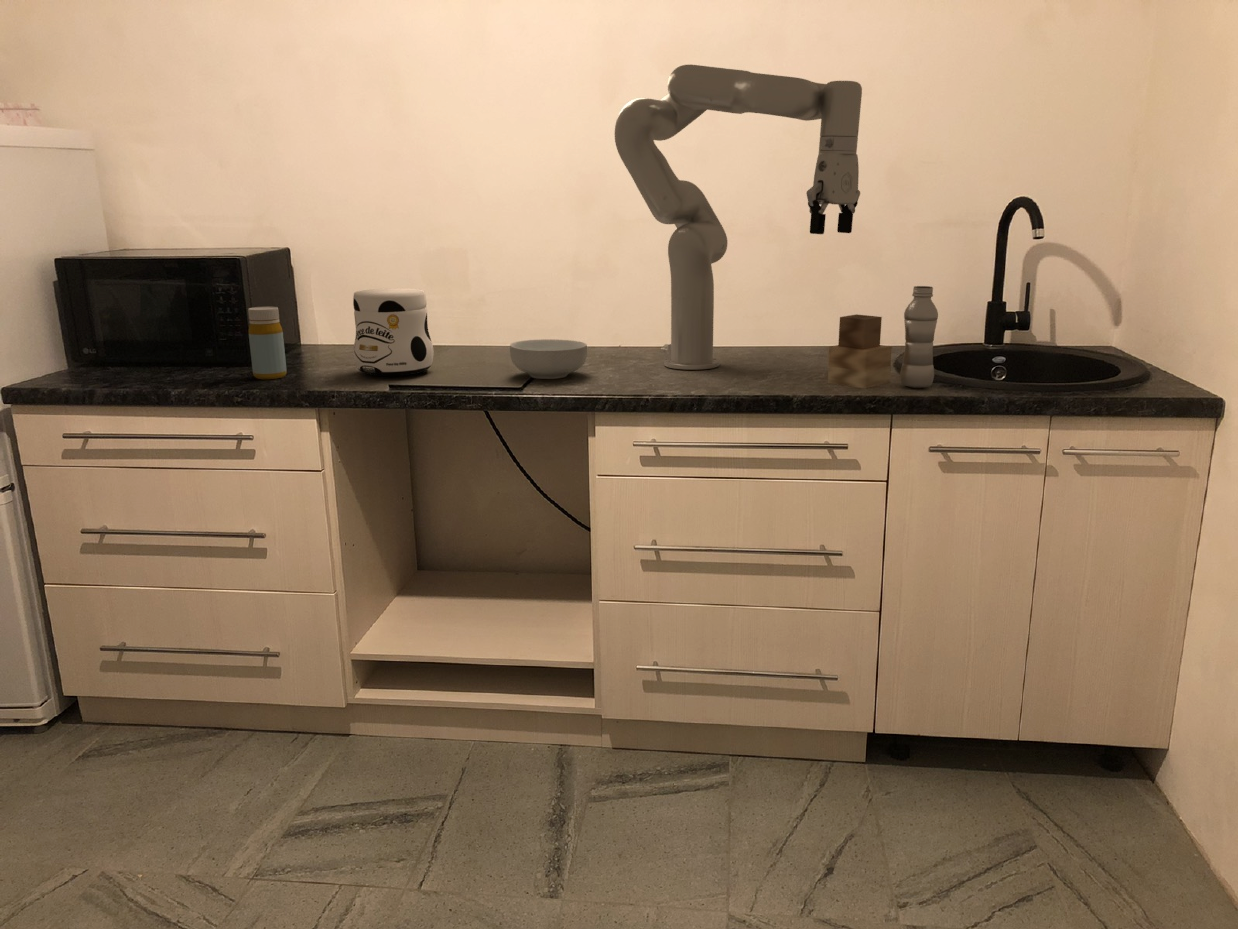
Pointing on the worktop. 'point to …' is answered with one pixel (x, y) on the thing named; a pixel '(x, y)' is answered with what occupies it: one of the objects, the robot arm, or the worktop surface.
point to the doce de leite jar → (391, 332)
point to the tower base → (859, 377)
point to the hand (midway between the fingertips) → (830, 233)
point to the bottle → (266, 343)
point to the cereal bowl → (548, 357)
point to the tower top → (860, 358)
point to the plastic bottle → (919, 339)
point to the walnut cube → (859, 331)
